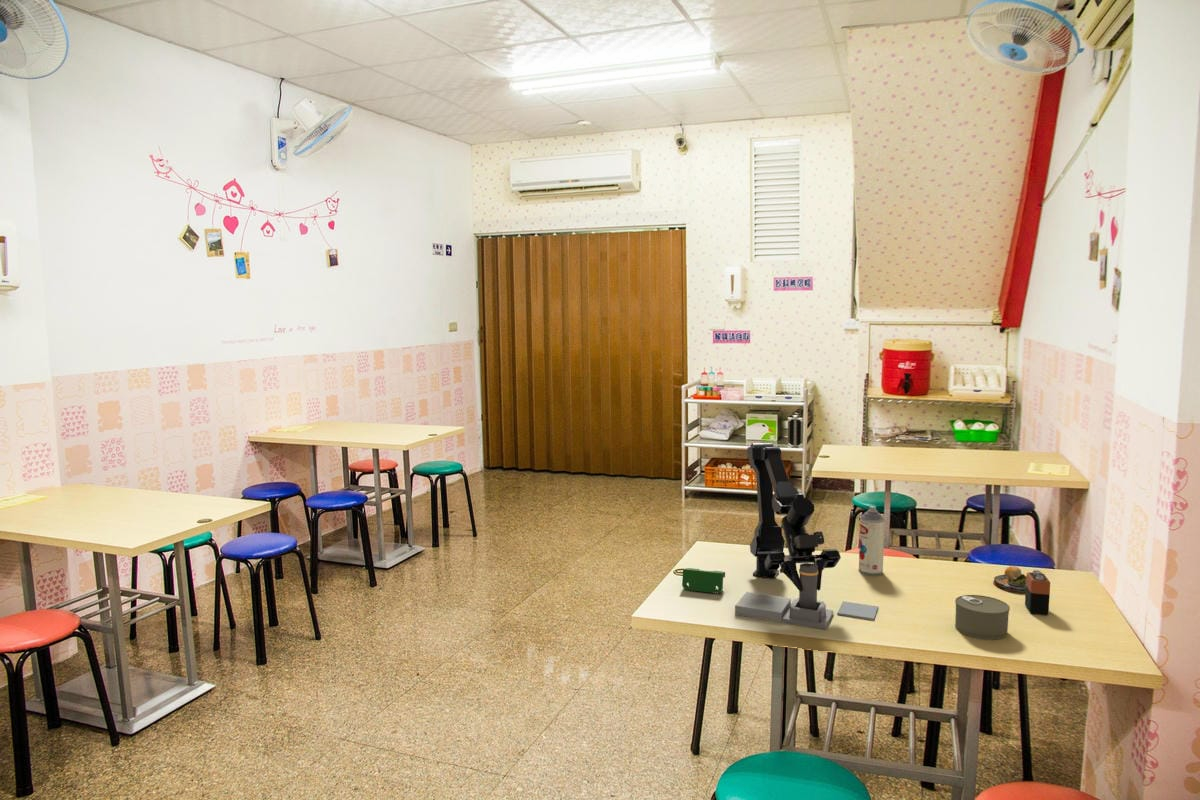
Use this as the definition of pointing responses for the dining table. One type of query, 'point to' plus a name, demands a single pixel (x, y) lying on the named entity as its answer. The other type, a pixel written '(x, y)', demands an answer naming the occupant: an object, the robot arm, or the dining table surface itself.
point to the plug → (808, 586)
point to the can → (981, 617)
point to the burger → (1011, 580)
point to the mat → (857, 610)
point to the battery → (1037, 593)
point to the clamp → (703, 580)
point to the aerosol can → (871, 542)
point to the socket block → (782, 610)
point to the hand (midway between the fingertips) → (810, 590)
